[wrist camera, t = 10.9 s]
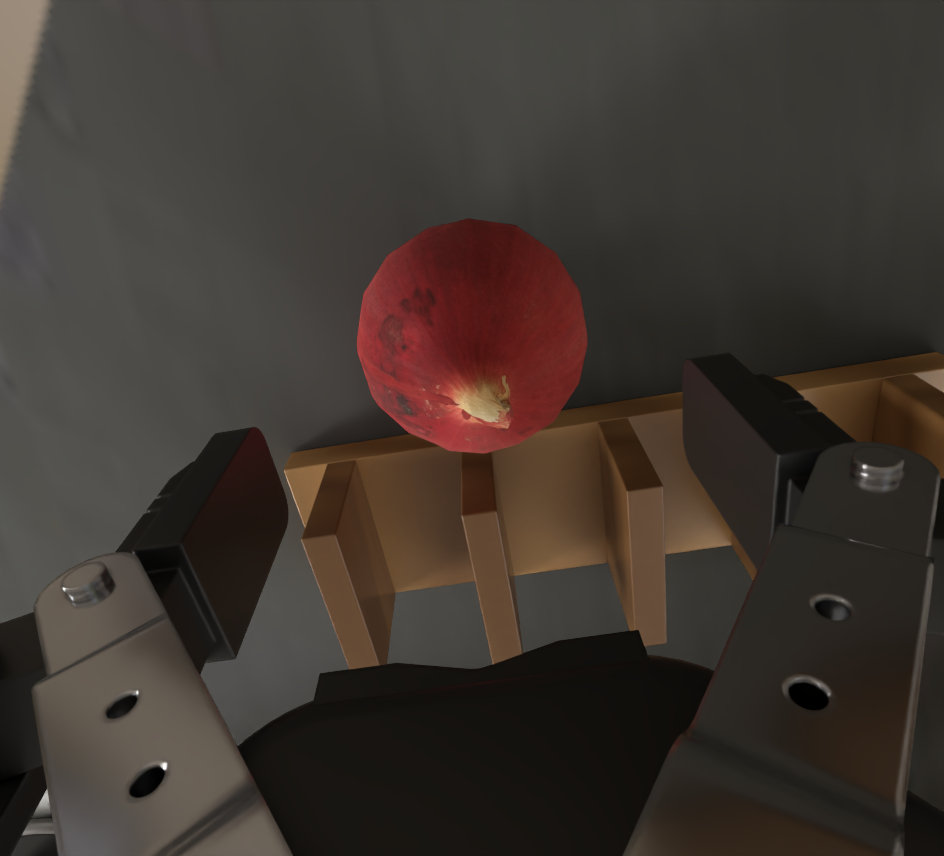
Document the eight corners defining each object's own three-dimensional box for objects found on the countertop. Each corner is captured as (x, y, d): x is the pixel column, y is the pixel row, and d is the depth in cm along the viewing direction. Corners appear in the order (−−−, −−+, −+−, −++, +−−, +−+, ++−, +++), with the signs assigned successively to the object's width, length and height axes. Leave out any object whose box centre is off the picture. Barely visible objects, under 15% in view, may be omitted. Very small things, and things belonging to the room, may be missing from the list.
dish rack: (336, 580, 25) (309, 691, 20) (291, 451, 22) (247, 546, 17) (906, 498, 23) (1016, 597, 19) (937, 351, 21) (1074, 425, 16)
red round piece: (406, 398, 21) (381, 554, 14) (348, 227, 18) (281, 312, 11) (576, 358, 20) (640, 498, 13) (543, 175, 18) (601, 230, 11)
